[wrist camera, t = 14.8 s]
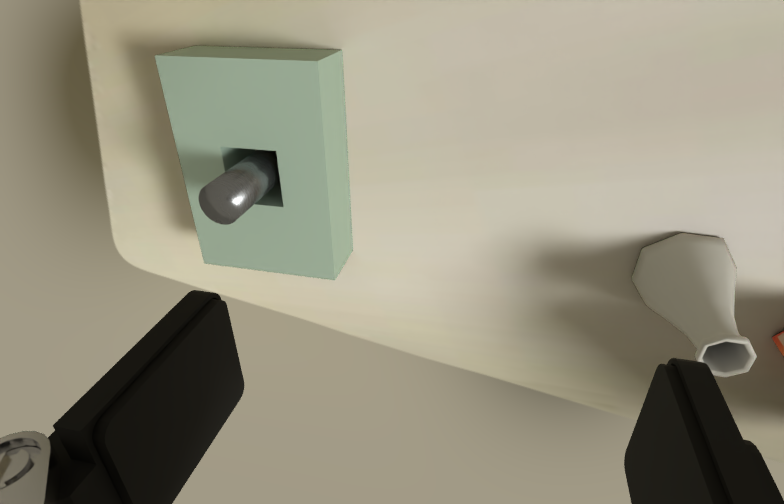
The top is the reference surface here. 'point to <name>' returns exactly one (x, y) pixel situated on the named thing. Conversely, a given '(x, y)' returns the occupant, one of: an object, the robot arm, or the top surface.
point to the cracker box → (779, 341)
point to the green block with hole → (265, 132)
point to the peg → (240, 187)
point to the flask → (696, 297)
